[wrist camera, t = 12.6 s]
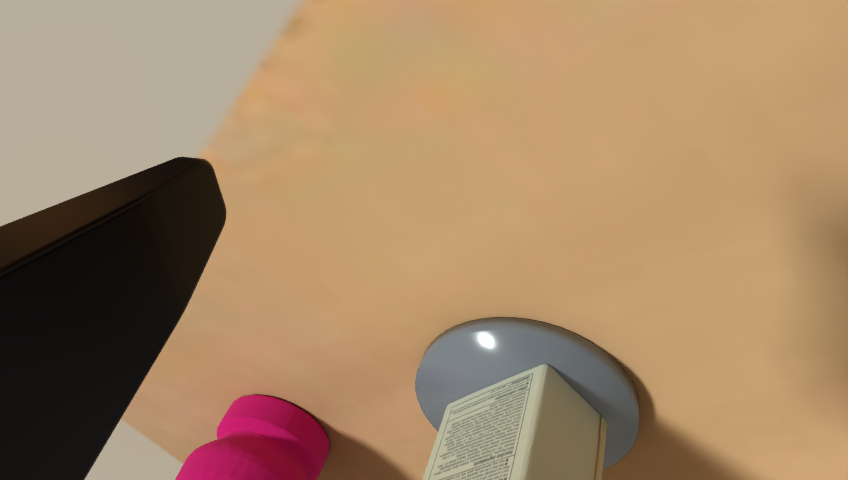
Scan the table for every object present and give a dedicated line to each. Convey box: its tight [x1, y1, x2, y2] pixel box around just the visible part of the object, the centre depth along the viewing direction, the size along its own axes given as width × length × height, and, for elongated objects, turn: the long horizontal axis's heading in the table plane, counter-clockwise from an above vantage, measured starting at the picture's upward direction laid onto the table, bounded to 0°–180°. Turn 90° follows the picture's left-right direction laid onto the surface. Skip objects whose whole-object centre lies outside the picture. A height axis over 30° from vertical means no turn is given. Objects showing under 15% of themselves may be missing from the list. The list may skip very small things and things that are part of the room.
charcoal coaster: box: [415, 317, 640, 470], centre depth 31 cm, size 10×10×1 cm
